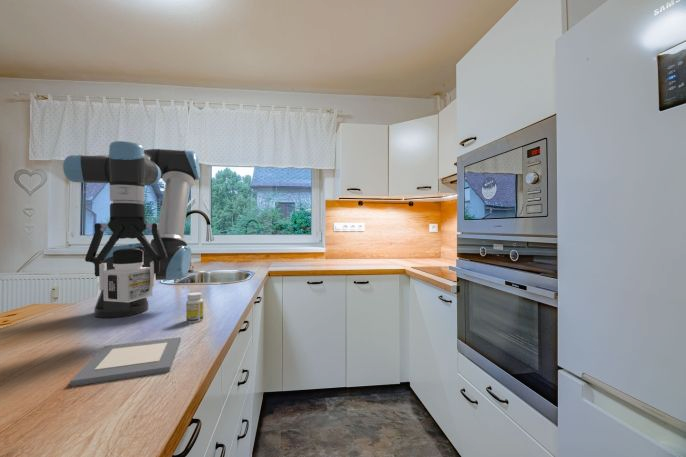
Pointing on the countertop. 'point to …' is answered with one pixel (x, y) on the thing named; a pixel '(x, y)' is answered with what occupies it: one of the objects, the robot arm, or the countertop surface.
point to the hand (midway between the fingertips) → (128, 287)
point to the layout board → (129, 361)
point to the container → (127, 277)
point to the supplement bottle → (194, 307)
